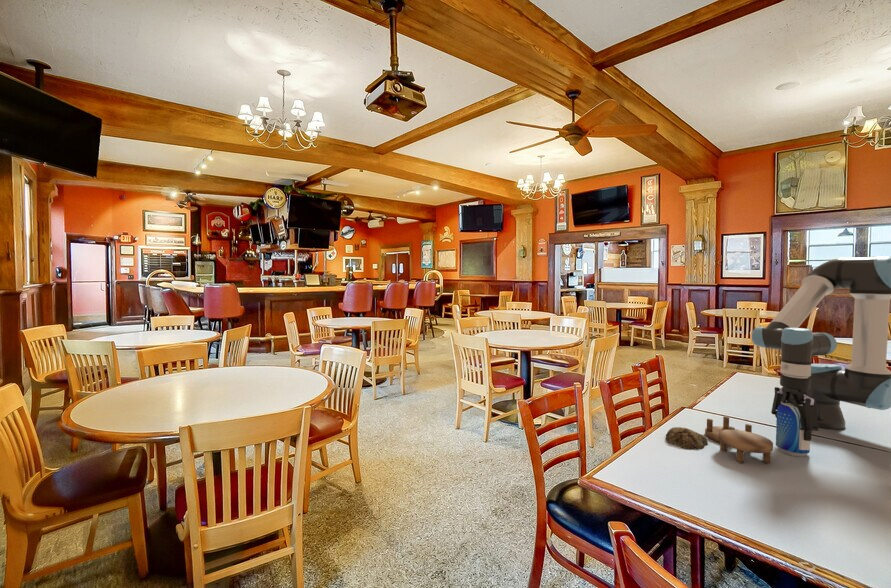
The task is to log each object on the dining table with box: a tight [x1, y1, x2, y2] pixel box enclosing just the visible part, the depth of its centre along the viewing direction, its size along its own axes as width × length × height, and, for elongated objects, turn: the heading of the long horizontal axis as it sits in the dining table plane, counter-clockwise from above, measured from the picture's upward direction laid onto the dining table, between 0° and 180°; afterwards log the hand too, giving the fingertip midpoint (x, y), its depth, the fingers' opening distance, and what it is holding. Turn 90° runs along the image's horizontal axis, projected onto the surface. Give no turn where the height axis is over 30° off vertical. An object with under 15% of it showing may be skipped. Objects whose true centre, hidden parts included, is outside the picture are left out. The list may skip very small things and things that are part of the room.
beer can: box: [775, 402, 811, 458], centre depth 130 cm, size 8×8×16 cm
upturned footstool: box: [704, 415, 753, 444], centre depth 141 cm, size 14×14×6 cm
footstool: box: [718, 429, 774, 465], centre depth 128 cm, size 14×14×6 cm
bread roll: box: [665, 426, 709, 450], centre depth 139 cm, size 13×12×5 cm
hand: (792, 443), depth 131 cm, fingers closed on beer can, 8 cm apart
